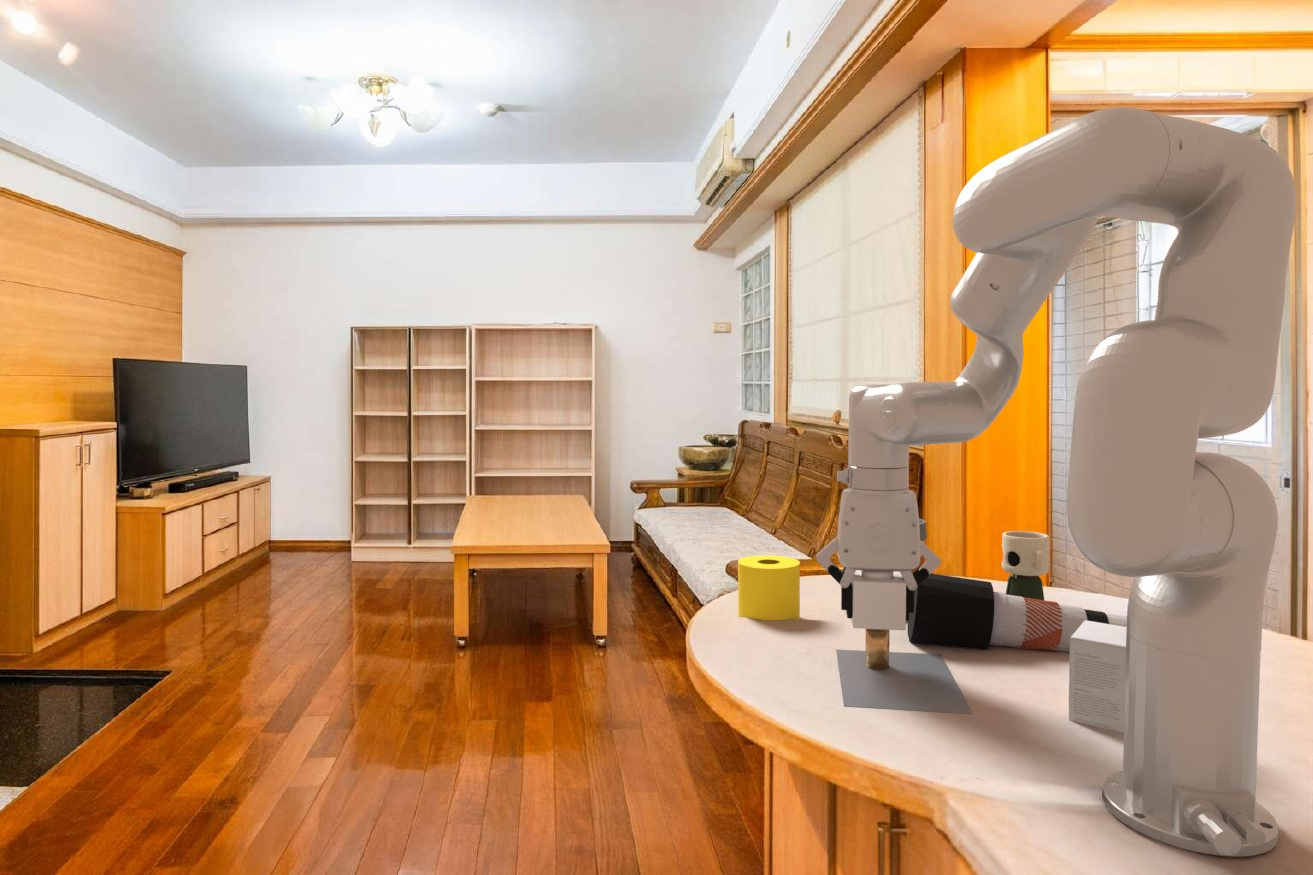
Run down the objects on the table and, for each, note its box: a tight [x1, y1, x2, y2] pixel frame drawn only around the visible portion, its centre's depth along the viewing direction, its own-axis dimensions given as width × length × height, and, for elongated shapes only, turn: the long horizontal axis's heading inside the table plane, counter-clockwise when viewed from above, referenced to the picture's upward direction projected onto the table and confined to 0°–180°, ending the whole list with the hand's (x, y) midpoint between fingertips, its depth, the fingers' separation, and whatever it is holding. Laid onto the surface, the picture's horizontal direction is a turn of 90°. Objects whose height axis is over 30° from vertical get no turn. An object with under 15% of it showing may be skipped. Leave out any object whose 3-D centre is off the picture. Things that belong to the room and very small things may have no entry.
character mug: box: [1001, 530, 1050, 601], centre depth 131 cm, size 11×7×13 cm, turn 1°
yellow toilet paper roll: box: [737, 555, 801, 621], centre depth 129 cm, size 10×10×9 cm
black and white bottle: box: [907, 572, 1127, 655], centre depth 110 cm, size 10×34×10 cm
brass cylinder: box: [864, 629, 890, 670], centre depth 102 cm, size 3×3×5 cm
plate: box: [835, 649, 974, 715], centre depth 98 cm, size 20×14×1 cm
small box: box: [1068, 620, 1127, 734], centre depth 86 cm, size 8×6×10 cm
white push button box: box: [851, 570, 907, 631], centre depth 102 cm, size 6×6×7 cm
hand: (876, 615), depth 102 cm, fingers closed on white push button box, 6 cm apart
